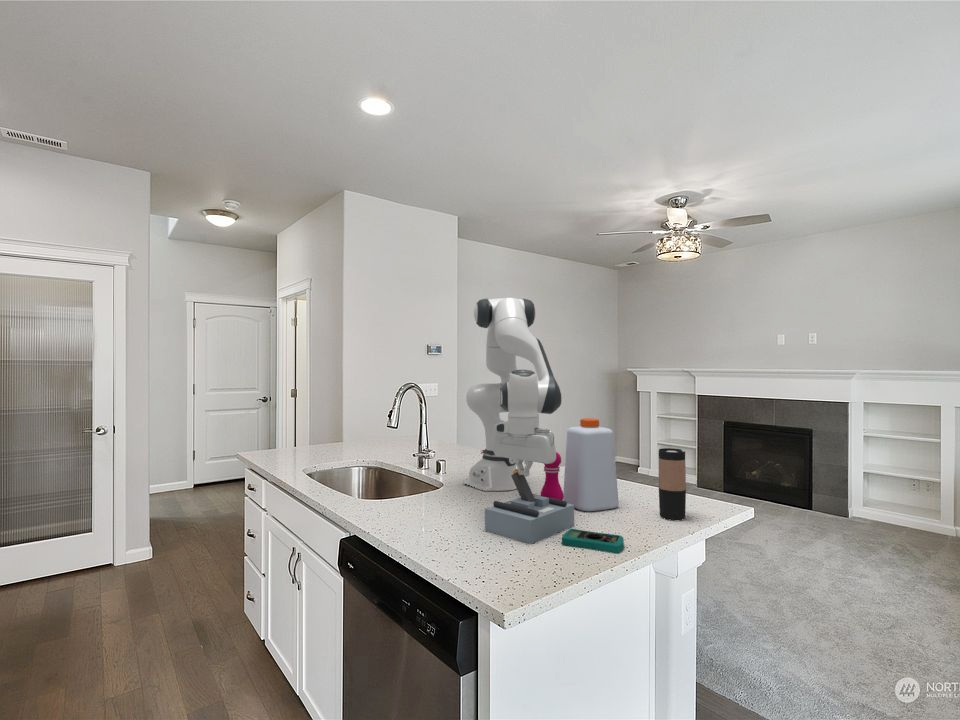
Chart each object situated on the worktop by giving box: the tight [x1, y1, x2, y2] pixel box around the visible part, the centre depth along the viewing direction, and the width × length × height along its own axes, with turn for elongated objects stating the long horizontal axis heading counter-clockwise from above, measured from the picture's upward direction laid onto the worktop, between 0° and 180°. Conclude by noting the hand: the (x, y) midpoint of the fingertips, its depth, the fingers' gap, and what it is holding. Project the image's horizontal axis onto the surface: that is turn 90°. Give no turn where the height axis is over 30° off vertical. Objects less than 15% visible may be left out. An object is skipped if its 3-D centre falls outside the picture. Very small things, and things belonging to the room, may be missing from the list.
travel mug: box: [658, 447, 687, 521], centre depth 150 cm, size 8×8×20 cm
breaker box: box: [484, 494, 575, 545], centre depth 140 cm, size 16×20×8 cm
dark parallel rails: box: [492, 493, 567, 517], centre depth 140 cm, size 16×15×2 cm
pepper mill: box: [540, 451, 564, 501], centre depth 158 cm, size 7×7×20 cm
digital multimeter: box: [561, 528, 625, 554], centre depth 127 cm, size 7×15×3 cm, turn 64°
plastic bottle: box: [563, 417, 619, 512], centre depth 164 cm, size 15×15×28 cm
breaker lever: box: [511, 468, 536, 505], centre depth 142 cm, size 2×3×11 cm
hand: (523, 475), depth 142 cm, fingers closed
